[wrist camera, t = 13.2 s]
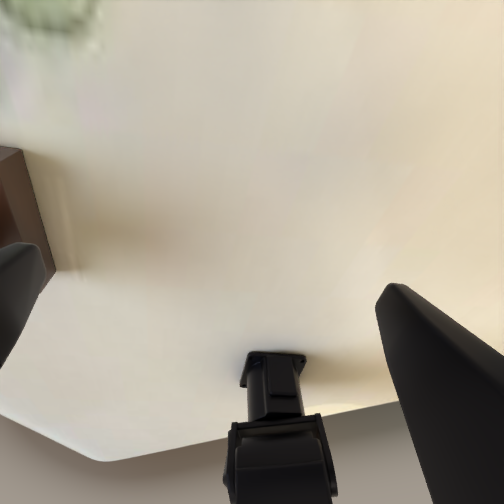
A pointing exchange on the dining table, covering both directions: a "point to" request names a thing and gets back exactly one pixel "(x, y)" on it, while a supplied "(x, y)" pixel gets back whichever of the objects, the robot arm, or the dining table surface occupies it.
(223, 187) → the dining table surface
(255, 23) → the dining table surface
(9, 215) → the walnut block
